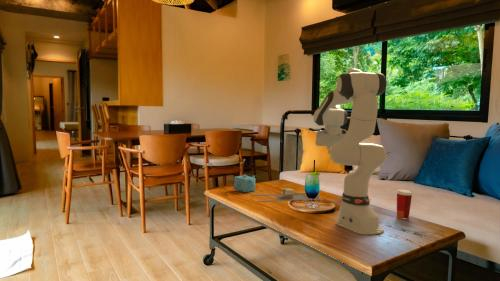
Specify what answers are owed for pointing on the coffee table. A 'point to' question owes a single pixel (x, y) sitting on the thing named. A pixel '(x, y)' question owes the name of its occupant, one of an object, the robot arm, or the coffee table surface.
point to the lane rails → (285, 200)
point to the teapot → (244, 183)
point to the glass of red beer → (403, 203)
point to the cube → (288, 193)
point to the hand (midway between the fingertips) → (331, 153)
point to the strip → (294, 197)
